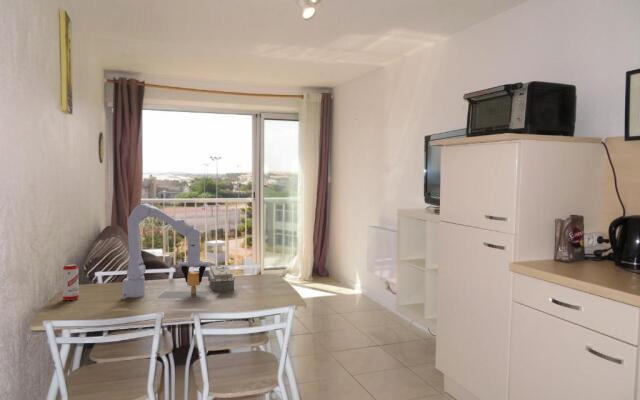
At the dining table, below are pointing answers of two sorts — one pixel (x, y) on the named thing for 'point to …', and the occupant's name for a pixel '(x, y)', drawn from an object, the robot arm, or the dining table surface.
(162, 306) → the dining table surface
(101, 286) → the dining table surface
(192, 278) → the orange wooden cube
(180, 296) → the wiring board
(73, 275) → the beer can
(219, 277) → the gray toolbox
